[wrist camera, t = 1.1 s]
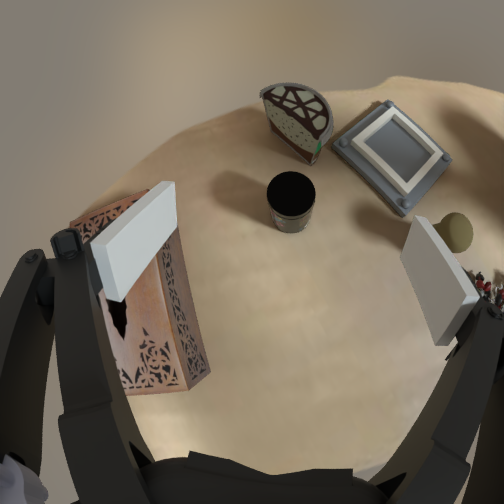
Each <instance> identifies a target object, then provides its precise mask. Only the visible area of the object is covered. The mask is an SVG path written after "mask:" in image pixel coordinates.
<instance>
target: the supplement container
mask: <svg viewBox="0 0 504 504" xmlns="http://www.w3.org/2000/svg"><path fill="white" fill-rule="evenodd" d="M315 195H316V194H315V188H314V185H313V183H312V182H311V180H310V179H309V178H308V177H306V176H305V175H303V174H301V173H298V172H293V171H288V172H283V173H280V174H278V175H277V176H275V177H274V178H273V179H272V180H271V182H270V183H269V185H268V188H267V200H268V204H269V207H270V211H271V216H272V220H273V222H274V224H275V226H276V227H277V228H278V229H279V230H281V231H283V232H286V233H297V232H300V231H302V230H303V229H304V228H306V226H307V225H308V224H309V221H310V218H311V214H312V209H313V206H314V202H315Z"/></svg>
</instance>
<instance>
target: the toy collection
mask: <svg viewBox="0 0 504 504" xmlns="http://www.w3.org/2000/svg"><path fill="white" fill-rule="evenodd" d="M480 273H481V272H479V273H478V274H477V275H476V280H478V281H477V282H476V285H477V288H480V289H483V290H484V291H485V293H484V291H483V290H480V291H479V292H480V293H481V295H482V297H483V298H484V300H485V302H489V300H490V302H489V303H492V298H491V299H489V296H490V290H491V289H492V288H491V282H486V284H485V285H484V283H483V281H484V277H483V275H481V274H480ZM502 286H503V285H502V284H501V289H500V287H499V286H498V287H497V286H496V288H495V292H496V290H497V288H499V290H500V291H499V293H498V294H497V292H496V295H495V297H496V299H493V300H494V303H495V304H494V305H496V306H497V307H498V308H499V309H501V311H502V312H503V315H504V305H503V307H502V308H501V303H502V301H503V300H504V291H503V289H502V288H503V287H502ZM490 288H491V289H490ZM478 290H479V289H478ZM491 296H492V295H491ZM491 296H490V297H491Z"/></svg>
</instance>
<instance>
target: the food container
mask: <svg viewBox="0 0 504 504" xmlns="http://www.w3.org/2000/svg"><path fill="white" fill-rule="evenodd" d="M261 97H262V99H263V103H264V106H265V110H266V114H267V118H268V122H269V126H270V130H271V132H272V133H273V134H275V135H276V136H277V137H278V138H279V139H281V140H282V141H283V142H284V143H285V144H286V145H288V146H289V147H290V148H291V149H292V150H293V151H294V152H296V153H297V154H298V155H299V156H300V157H301V158H302V159H303V160H305V161H306V162H307V163H308V164H309V165H310V166H311V165H312V164H313V163H314V162H315V161H316V159H317V157H318V155H319V153H320V150H321V148H322V146H323V145H324V144H325V143H326V142H327V141H328V140H329V138H330V136H331V134H332V131H333V116H332V111H331V108H330V106H329V104H328V103H327V101H326V100H325V98H324V97H323V96H322V95H321V94H320V93H318V92H317V91H316V90H314V89H312V88H310V87H308V86H305V85H302V84H297V83H278V84H274V85H270V86H268V87H266V88H264V89H262V90H261V92H260V98H261Z"/></svg>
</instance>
